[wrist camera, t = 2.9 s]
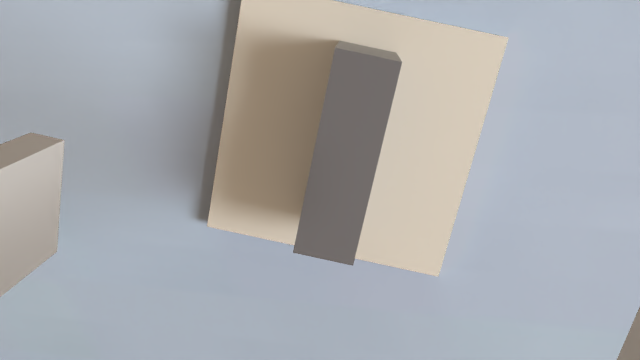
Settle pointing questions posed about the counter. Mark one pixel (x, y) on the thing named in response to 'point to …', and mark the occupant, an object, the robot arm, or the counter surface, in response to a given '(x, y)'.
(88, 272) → the counter surface
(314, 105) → the cover
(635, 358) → the robot arm
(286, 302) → the counter surface
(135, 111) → the counter surface
